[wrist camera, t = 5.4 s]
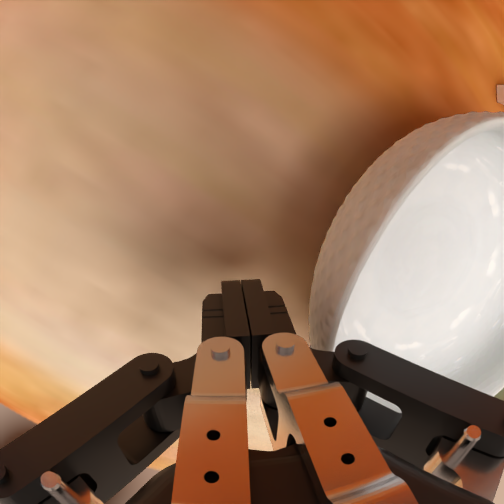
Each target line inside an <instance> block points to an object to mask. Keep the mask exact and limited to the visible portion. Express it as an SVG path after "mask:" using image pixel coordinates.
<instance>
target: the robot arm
mask: <svg viewBox="0 0 504 504" xmlns="http://www.w3.org/2000/svg"><path fill="white" fill-rule="evenodd" d="M221 285H222V294H208V295H207V297H206V298H205V299H204V301H203V306H202V343H201V344H200V345H199V347H198V350H197V353H196V354H195V355H194V356H192V357H190V358H188V359H186V360H182V361H179V362H175V363H172V361H171V360H170V359H169V358H168V357H166V356H164V355H162V354H158V353H147V354H143V355H140V356H138V357H136V358H134V359H133V360H131V361H130V362H128V363H127V364H125V365H124V366H123V367H121V368H120V369H118V370H117V371H115V372H114V373H113V374H111V375H110V376H108V377H107V378H105V379H104V380H102V381H101V382H100V383H98V384H97V385H95V386H94V387H92V388H91V389H89V390H88V391H87V392H85V393H84V394H82V395H81V396H79V397H78V398H76V399H75V400H73V401H72V402H70V403H69V404H67V405H66V406H65V407H63V408H62V409H60V410H59V411H57V412H56V413H54V414H53V415H51V416H50V417H48V418H47V419H45V420H44V421H42V422H41V423H39V424H38V425H36V426H35V427H33V428H32V429H30V430H29V431H27V432H26V433H24V434H23V435H21V436H20V437H18V438H17V439H15V440H14V441H12V442H11V443H9V444H8V445H6V446H5V447H3V448H2V449H0V503H1V504H104V503H106V502H107V501H108V500H109V499H110V498H112V497H113V496H114V495H115V494H116V493H117V492H119V491H120V490H121V489H122V488H124V487H125V486H126V485H127V484H128V483H129V482H131V481H132V480H133V479H134V478H135V477H136V476H137V475H138V474H140V473H141V472H142V471H143V470H144V469H145V468H146V467H148V466H149V465H150V464H151V463H152V462H153V461H154V460H155V459H156V458H158V457H159V456H160V455H161V454H162V453H163V452H164V451H165V450H166V449H167V448H168V447H170V446H171V445H172V444H173V443H174V442H175V441H176V440H177V439H178V438H179V445H178V452H177V460H176V463H175V464H173V465H171V466H168V467H167V468H165V469H163V470H161V471H160V472H159V473H157V474H156V475H155V476H153V477H152V478H151V479H150V480H149V481H148V482H147V483H146V484H145V485H144V486H143V487H142V488H141V489H140V490H139V491H138V492H137V493H136V494H135V495H134V496H133V497H132V498H130V500H128V501H127V502H126V503H125V504H494V503H493V499H494V497H495V494H496V491H497V488H498V485H499V482H500V479H501V476H502V473H503V469H504V401H503V400H501V399H498V398H496V397H493V396H491V395H488V394H486V393H483V392H481V391H478V390H476V389H473V388H471V387H469V386H466V385H464V384H461V383H459V382H457V381H454V380H452V379H449V378H447V377H445V376H442V375H440V374H438V373H435V372H433V371H431V370H428V369H426V368H424V367H421V366H419V365H417V364H415V363H412V362H410V361H408V360H405V359H403V358H401V357H399V356H396V355H394V354H392V353H390V352H387V351H385V350H383V349H381V348H378V347H376V346H374V345H372V344H370V343H367V342H365V341H361V340H346V341H343V342H341V343H339V344H338V345H337V346H336V348H335V352H333V351H322V350H316V349H312V348H310V347H309V346H308V344H307V342H306V341H305V340H304V339H303V338H302V337H300V336H298V335H296V332H295V330H294V327H293V324H292V322H291V319H290V317H289V314H288V312H287V309H286V307H285V304H284V301H283V299H282V297H281V296H280V295H278V294H277V293H276V292H275V291H263V288H262V284H261V281H260V279H254V280H241V283H240V280H235V281H221ZM250 380H251V386H252V388H259V389H260V394H261V397H260V406H261V410H262V413H263V417H264V420H265V423H266V427H267V430H268V433H269V437H270V440H271V443H272V447H273V451H259V450H250V449H248V433H247V409H246V401H247V389H250ZM367 392H370V393H372V394H374V395H376V396H378V397H380V398H382V399H384V400H386V401H389V402H391V403H393V404H395V405H396V406H398V407H399V408H400V410H401V412H402V413H398V412H396V411H394V410H392V409H390V408H388V407H386V406H384V405H382V404H380V403H378V402H376V401H374V400H372V399H370V398H368V397H366V395H367Z"/></svg>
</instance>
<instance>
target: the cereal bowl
mask: <svg viewBox="0 0 504 504" xmlns="http://www.w3.org/2000/svg"><path fill="white" fill-rule="evenodd" d="M308 321H309V338H310V348H312V349H316V350H322V351H333V352H335V348H336V346H337V345H338V344H339V343H341V342H343V341H346V340H361V341H365V342H367V343H370V344H372V345H374V346H376V347H378V348H381V349H383V350H385V351H387V352H390V353H392V354H394V355H396V356H399V357H401V358H403V359H405V360H408V361H410V362H412V363H415V364H417V365H419V366H421V367H424V368H426V369H428V370H431V371H433V372H435V373H438V374H440V375H442V376H445V377H447V378H449V379H452V380H454V381H457V382H459V383H461V384H464V385H466V386H469V387H471V388H473V389H476V390H478V391H481V392H483V393H486V394H488V395H491V396H493V397H494V396H495V395H496V394H497V393H498V392H499V391H501V390H502V389H503V388H504V112H495V113H492V112H487V111H484V112H469V113H466V114H457V115H454V116H451V117H447V118H441V119H439V120H437V121H435V122H432V123H428V124H425V125H423V126H422V127H421V128H418V129H415V130H414V131H413V132H411V133H409V134H408V135H407V136H405V137H403V138H401V139H400V140H398V141H396V142H395V143H394V144H393V146H392V147H390V148H389V149H387V150H386V151H384V153H383V154H382V155H381V156H379V157H378V158H377V160H375V161H374V162H373V164H372V165H371V166H369V167H368V169H367V171H366V172H365V173H364V174H363V175H362V176H361V178H360V179H359V180H358V182H357V183H356V184H355V185H354V186H353V187H352V190H351V191H350V193H349V194H348V195H347V196H346V198H345V201H344V203H343V204H342V205H341V206H340V208H339V209H338V212H337V214H336V216H335V218H334V219H333V222H332V225H331V227H330V228H329V230H328V231H327V235H326V238H325V241H324V242H323V244H322V246H321V251H320V253H319V256H318V261H317V264H316V266H315V270H314V277H313V282H312V285H311V296H310V301H309V318H308ZM366 397H368V398H370V399H372V400H374V401H376V402H378V403H380V404H382V405H384V406H386V407H388V408H390V409H392V410H394V411H396V412H398V413H402V412H401V410H400V408H399V407H398V406H396V405H395V404H393V403H391V402H389V401H386V400H384V399H382V398H380V397H378V396H376V395H374V394H372V393H370V392H367V395H366Z"/></svg>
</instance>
